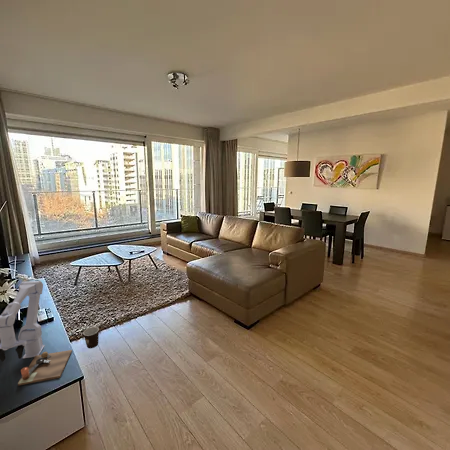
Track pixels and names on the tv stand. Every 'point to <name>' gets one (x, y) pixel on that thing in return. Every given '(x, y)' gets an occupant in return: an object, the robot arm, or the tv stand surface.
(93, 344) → the coffee mug
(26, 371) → the lever
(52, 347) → the tv stand surface
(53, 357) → the light wood flat board
